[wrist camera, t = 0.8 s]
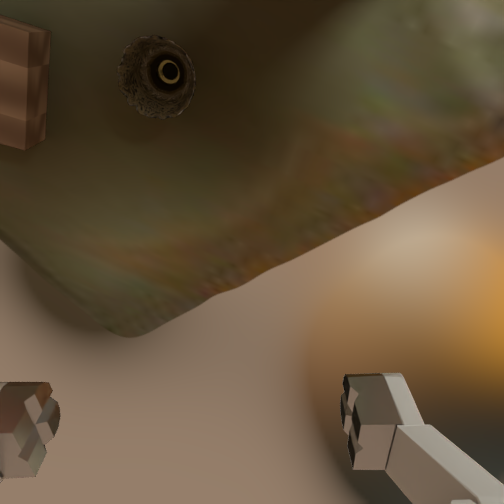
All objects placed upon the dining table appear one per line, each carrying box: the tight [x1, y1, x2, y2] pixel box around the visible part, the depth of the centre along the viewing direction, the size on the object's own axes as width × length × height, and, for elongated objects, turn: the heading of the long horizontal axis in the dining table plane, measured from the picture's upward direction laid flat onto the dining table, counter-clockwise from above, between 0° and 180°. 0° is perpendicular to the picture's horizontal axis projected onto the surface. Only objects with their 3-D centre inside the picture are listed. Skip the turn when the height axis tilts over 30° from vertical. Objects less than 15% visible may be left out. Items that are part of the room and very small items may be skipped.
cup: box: [117, 35, 196, 120], centre depth 41 cm, size 7×7×8 cm
